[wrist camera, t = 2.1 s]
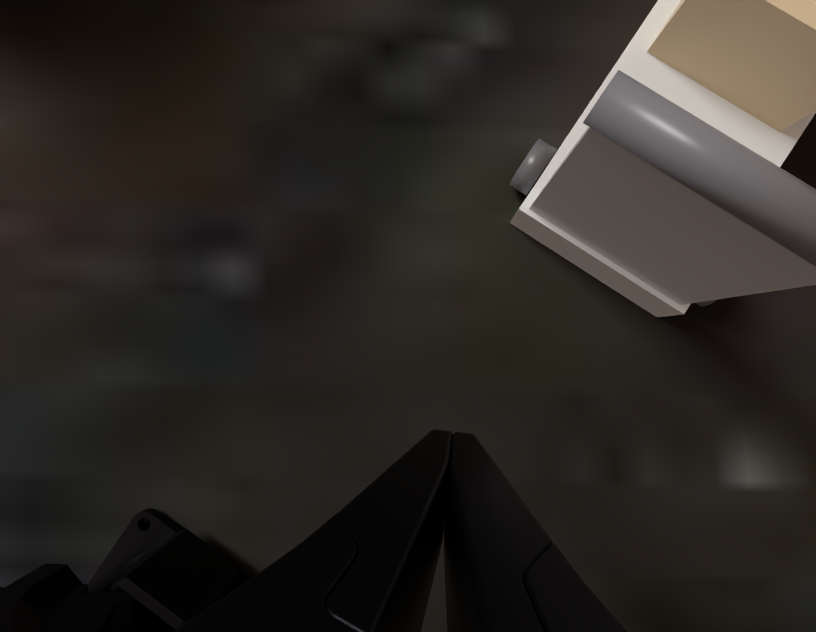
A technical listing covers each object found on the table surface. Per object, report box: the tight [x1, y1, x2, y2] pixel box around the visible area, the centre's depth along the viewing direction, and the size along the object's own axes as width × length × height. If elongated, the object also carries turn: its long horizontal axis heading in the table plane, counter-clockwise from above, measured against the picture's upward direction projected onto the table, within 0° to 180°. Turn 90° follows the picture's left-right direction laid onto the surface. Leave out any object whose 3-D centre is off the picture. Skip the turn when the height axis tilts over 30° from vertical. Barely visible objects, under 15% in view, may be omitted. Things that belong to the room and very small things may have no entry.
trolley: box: [509, 0, 816, 317], centre depth 15 cm, size 16×9×10 cm, turn 146°
